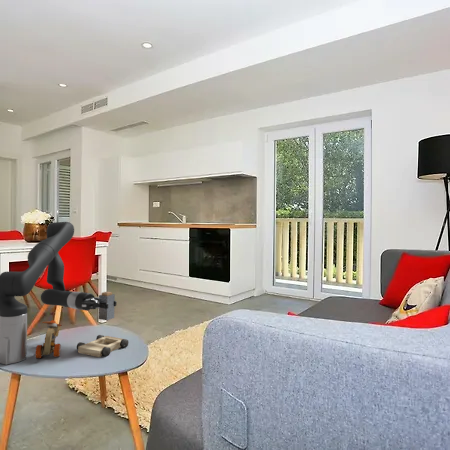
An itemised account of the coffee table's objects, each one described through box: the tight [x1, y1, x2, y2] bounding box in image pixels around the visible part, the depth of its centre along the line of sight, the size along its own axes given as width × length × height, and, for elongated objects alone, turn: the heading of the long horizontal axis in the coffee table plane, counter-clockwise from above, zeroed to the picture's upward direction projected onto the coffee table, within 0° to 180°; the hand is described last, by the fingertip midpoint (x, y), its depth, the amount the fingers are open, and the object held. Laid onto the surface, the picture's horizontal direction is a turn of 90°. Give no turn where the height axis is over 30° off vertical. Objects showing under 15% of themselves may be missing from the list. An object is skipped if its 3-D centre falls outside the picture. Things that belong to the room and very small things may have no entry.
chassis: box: [76, 334, 130, 358], centre depth 147 cm, size 16×15×3 cm
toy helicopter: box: [35, 320, 62, 359], centre depth 143 cm, size 8×21×14 cm, turn 17°
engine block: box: [98, 291, 116, 321], centre depth 150 cm, size 4×4×11 cm
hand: (111, 304), depth 149 cm, fingers closed on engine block, 4 cm apart
